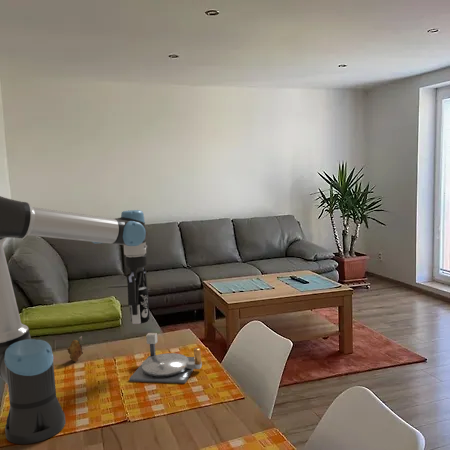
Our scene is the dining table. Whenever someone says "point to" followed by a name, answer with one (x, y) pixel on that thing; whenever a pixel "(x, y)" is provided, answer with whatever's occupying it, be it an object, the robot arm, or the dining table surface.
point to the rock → (75, 349)
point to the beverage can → (142, 305)
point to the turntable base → (176, 378)
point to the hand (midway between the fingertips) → (140, 319)
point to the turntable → (170, 364)
